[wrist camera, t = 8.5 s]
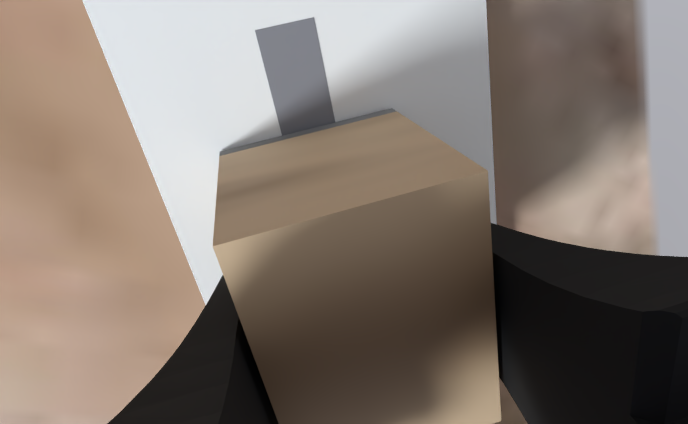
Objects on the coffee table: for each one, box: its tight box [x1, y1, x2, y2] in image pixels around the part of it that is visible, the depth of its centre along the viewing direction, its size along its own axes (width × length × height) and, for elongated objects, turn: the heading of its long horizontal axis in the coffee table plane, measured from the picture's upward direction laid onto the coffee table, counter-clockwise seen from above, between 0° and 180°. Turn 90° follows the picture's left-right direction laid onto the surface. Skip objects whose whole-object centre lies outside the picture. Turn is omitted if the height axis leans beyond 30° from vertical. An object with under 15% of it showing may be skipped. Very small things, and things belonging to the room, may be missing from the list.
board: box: [83, 0, 497, 305], centre depth 13 cm, size 11×9×1 cm
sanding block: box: [213, 108, 501, 424], centre depth 11 cm, size 6×4×5 cm
